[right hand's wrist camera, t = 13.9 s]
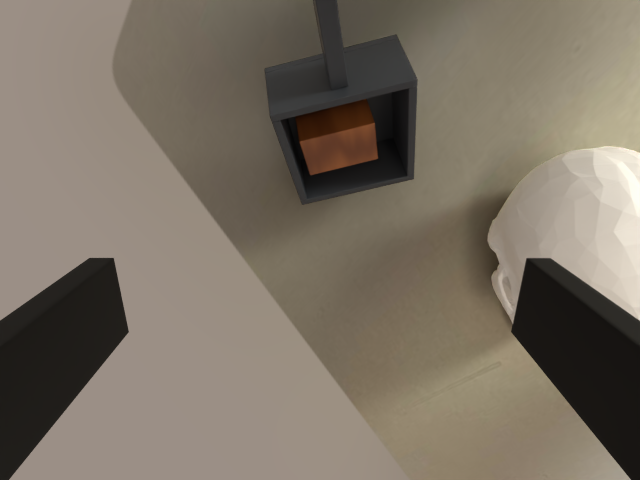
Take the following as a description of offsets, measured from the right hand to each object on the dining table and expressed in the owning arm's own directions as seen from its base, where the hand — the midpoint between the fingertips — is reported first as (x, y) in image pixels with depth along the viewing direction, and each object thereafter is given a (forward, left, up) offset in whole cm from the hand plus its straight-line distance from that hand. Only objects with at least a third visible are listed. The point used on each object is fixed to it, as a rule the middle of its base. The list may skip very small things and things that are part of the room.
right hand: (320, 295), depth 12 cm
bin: (-10, +1, -21) cm, 23 cm away
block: (-2, -1, -22) cm, 23 cm away
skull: (+9, +24, -28) cm, 38 cm away
